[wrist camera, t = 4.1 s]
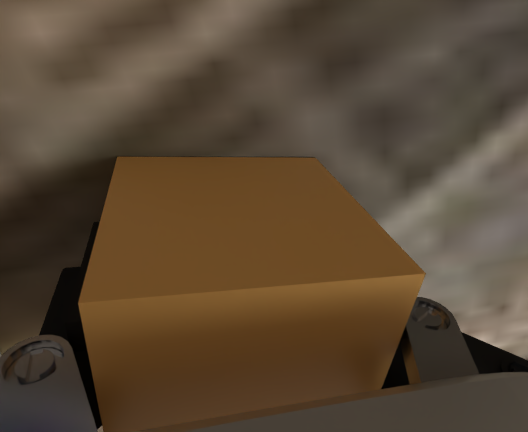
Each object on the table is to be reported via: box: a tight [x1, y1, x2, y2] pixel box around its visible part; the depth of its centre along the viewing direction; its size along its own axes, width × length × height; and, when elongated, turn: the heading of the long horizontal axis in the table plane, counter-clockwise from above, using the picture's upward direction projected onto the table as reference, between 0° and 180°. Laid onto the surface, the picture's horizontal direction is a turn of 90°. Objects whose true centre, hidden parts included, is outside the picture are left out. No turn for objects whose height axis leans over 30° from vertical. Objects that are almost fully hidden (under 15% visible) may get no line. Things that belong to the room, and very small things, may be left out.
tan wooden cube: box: [78, 157, 426, 432], centre depth 10 cm, size 6×6×6 cm
